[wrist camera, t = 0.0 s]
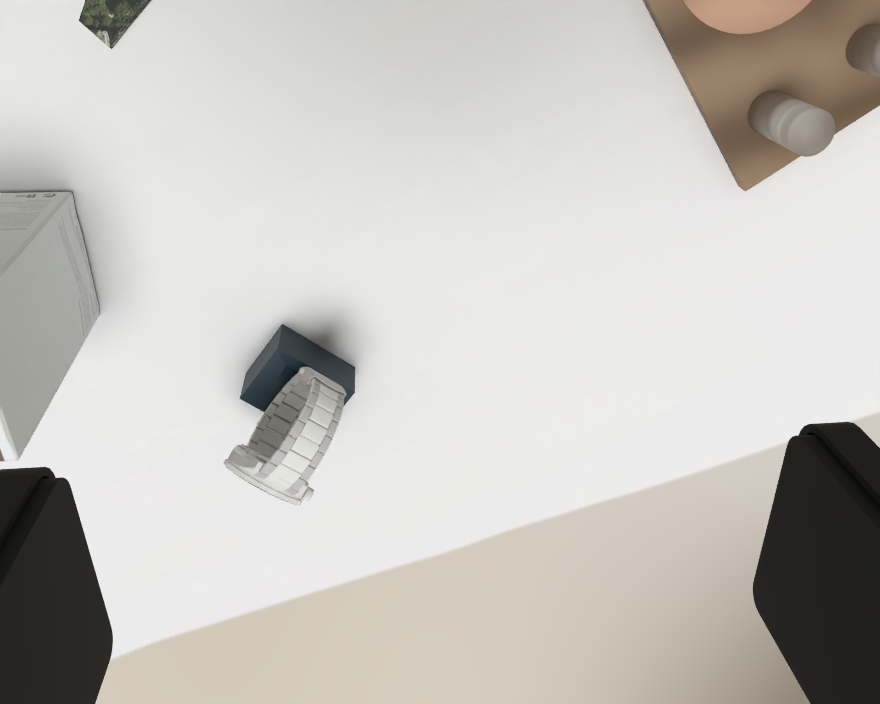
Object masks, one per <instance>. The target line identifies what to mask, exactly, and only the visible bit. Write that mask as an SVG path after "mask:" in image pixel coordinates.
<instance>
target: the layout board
mask: <svg viewBox="0 0 880 704" xmlns="http://www.w3.org/2000/svg"><path fill="white" fill-rule="evenodd" d="M643 1H644V3H645V5H646V7H647V9H648V11H649V13H650V15H651V17H652V19H653V21H654V22H655V24H656V26H657V28H658V30H659V32H660V34H661V36H662V38H663V40H664V42H665V44H666V46H667V48H668V50H669V52H670V54H671V56H672V57H673V59H674V61H675V63H676V65H677V67H678V69H679V71H680V73H681V75H682V77H683V79H684V81H685V83H686V85H687V87H688V89H689V91H690V92H691V94H692V96H693V98H694V100H695V102H696V104H697V106H698V108H699V110H700V112H701V114H702V116H703V118H704V120H705V122H706V124H707V126H708V128H709V129H710V131H711V133H712V135H713V137H714V139H715V141H716V143H717V145H718V147H719V149H720V151H721V153H722V155H723V157H724V159H725V161H726V163H727V164H728V166H729V168H730V170H731V172H732V174H733V176H734V178H735V180H736V182H737V184H738V186H739V187H740V188H742V189H743V190H745V191H747V190H748V189H750V188H752V187H753V186H755V185H756V184H758V183H759V182H761V181H762V180H764V179H766V178H767V177H769V176H770V175H772V174H773V173H775V172H777V171H778V170H780V169H781V168H783V167H784V166H786V165H787V164H789V163H791V162H792V161H794V160H795V159H797V158H798V157H800V156H813V155H816V154H818V153H820V152H821V151H823V150H824V149H825V148H826V147H827V146H828V145H829V144H830V142H831V141H832V139H833V136H834V134H836V133H837V132H839V131H840V130H842V129H843V128H845V127H847V126H848V125H850V124H851V123H853V122H854V121H856V120H857V119H859V118H861V117H862V116H864V115H865V114H867V113H868V112H870V111H872V110H873V109H875V108H876V107H878V106H879V105H880V0H643Z"/></svg>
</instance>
